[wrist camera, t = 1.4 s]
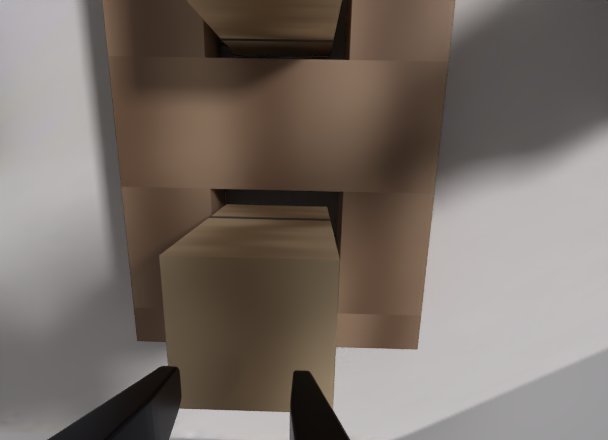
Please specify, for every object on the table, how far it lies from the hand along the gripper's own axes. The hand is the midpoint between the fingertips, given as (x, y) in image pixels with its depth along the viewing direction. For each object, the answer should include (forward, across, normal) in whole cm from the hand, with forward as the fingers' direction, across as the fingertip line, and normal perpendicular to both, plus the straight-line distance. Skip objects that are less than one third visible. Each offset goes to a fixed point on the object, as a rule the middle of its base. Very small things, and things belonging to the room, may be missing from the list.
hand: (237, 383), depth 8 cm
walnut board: (+13, 0, -6) cm, 15 cm away
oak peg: (+10, 0, 0) cm, 10 cm away
